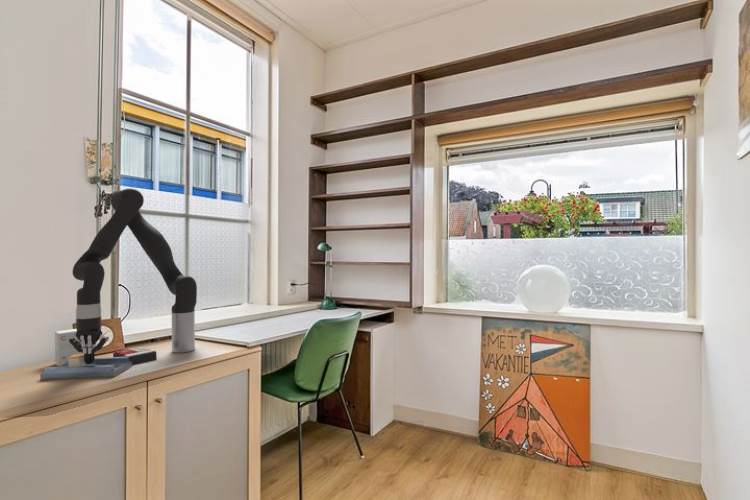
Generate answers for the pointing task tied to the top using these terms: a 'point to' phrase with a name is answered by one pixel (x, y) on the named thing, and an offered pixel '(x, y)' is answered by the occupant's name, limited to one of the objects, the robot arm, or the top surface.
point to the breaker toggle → (76, 360)
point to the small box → (64, 346)
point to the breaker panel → (89, 375)
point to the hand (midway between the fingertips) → (89, 363)
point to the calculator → (137, 355)
